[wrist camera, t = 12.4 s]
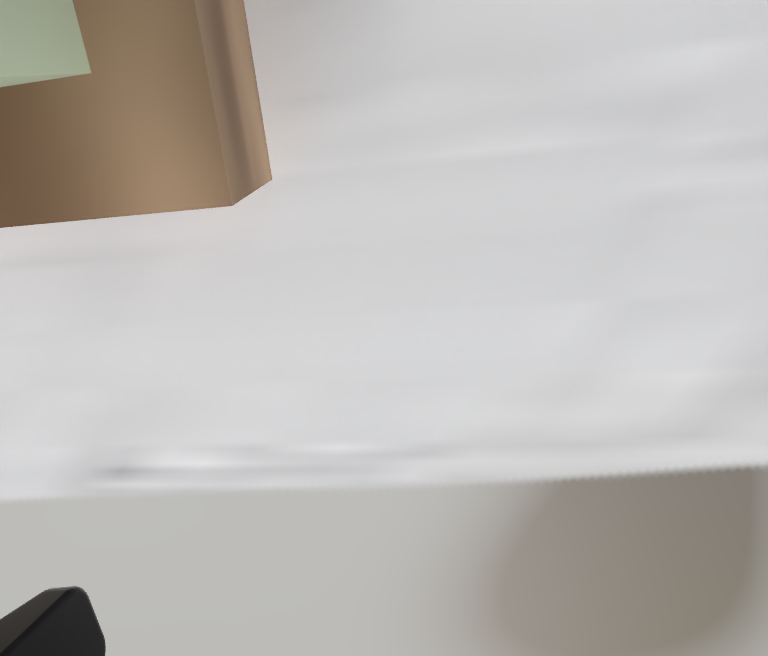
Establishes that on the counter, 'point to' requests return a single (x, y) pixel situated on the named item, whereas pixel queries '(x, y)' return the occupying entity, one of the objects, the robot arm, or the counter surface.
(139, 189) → the walnut block
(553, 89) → the counter surface
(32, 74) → the sage cube
